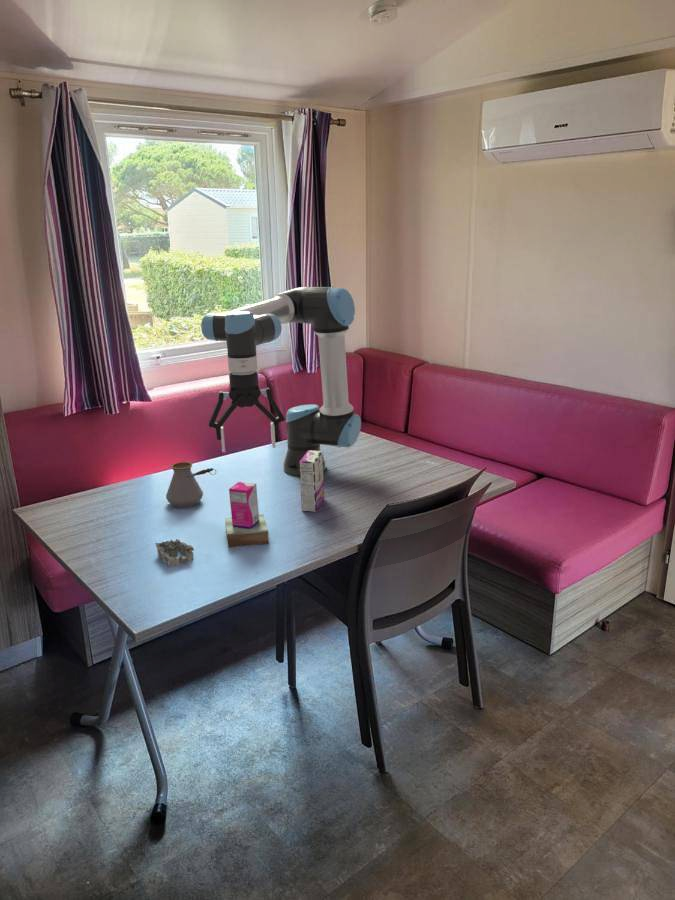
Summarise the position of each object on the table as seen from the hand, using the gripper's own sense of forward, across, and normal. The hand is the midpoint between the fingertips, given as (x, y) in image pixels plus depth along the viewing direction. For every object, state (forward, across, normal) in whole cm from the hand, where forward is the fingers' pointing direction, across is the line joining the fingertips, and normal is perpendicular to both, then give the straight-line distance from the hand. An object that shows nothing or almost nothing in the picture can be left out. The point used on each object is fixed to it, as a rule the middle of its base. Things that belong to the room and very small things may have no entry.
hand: (248, 448), depth 182 cm
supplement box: (+21, -2, -2) cm, 22 cm away
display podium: (+25, -2, -3) cm, 25 cm away
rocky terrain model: (+25, -22, -11) cm, 35 cm away
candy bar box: (+26, +19, +16) cm, 36 cm away
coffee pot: (+26, -17, +23) cm, 38 cm away
